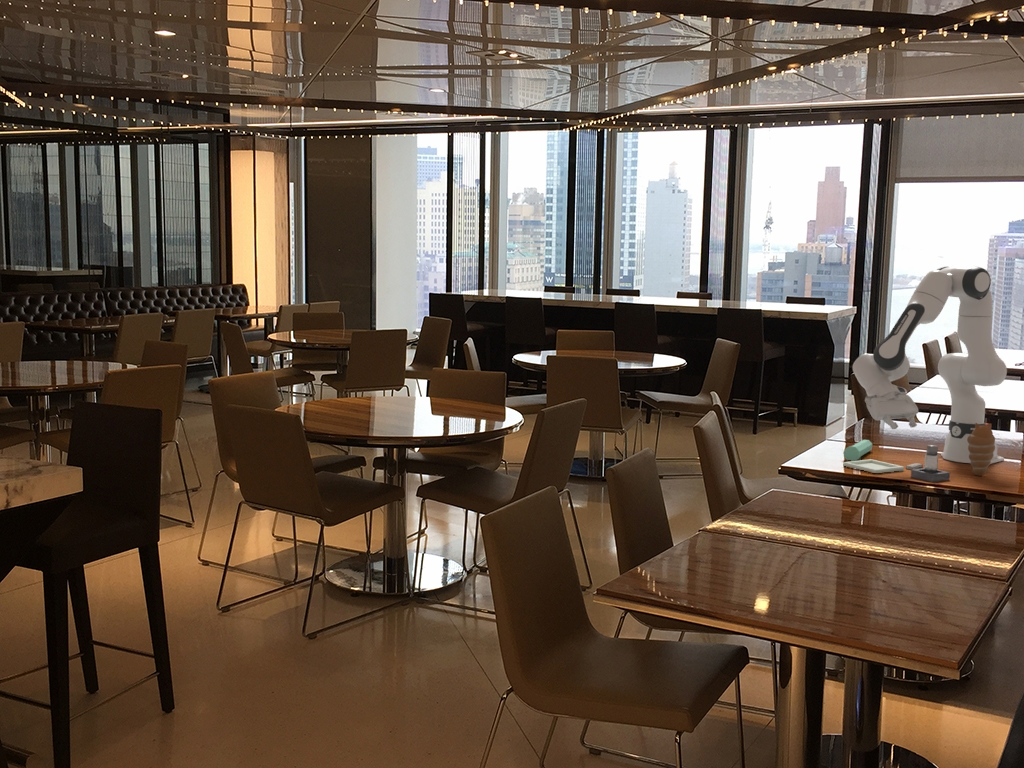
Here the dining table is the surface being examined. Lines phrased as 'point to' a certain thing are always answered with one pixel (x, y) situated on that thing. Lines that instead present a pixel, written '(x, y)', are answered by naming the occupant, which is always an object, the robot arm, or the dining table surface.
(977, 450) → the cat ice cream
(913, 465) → the drift key
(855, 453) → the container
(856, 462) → the tray
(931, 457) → the grey capped bottle
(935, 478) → the socket collar
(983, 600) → the dining table surface
